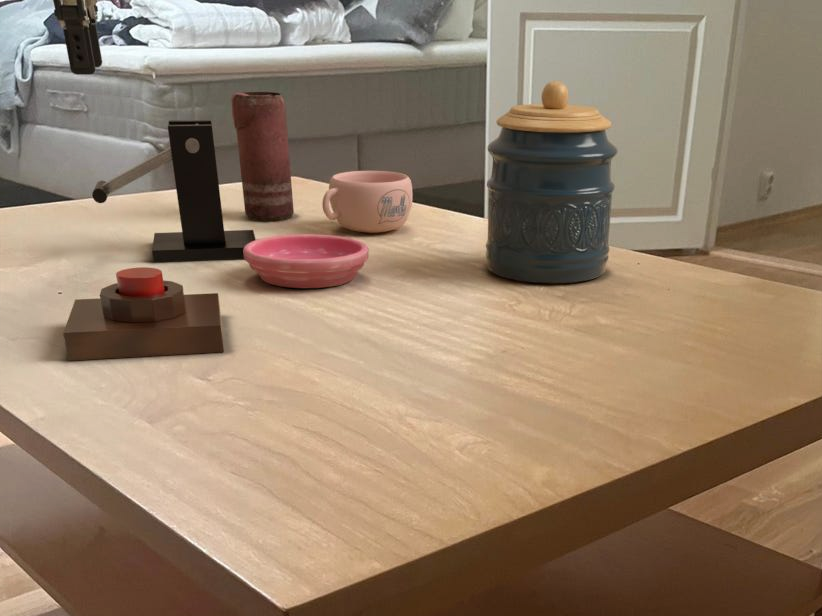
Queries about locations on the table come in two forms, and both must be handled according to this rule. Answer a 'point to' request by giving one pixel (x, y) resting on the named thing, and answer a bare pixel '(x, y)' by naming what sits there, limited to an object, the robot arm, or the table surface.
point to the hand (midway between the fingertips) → (87, 70)
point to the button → (140, 282)
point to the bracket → (197, 201)
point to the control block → (144, 324)
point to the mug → (369, 200)
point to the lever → (130, 175)
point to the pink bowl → (306, 259)
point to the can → (263, 155)
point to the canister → (550, 192)
